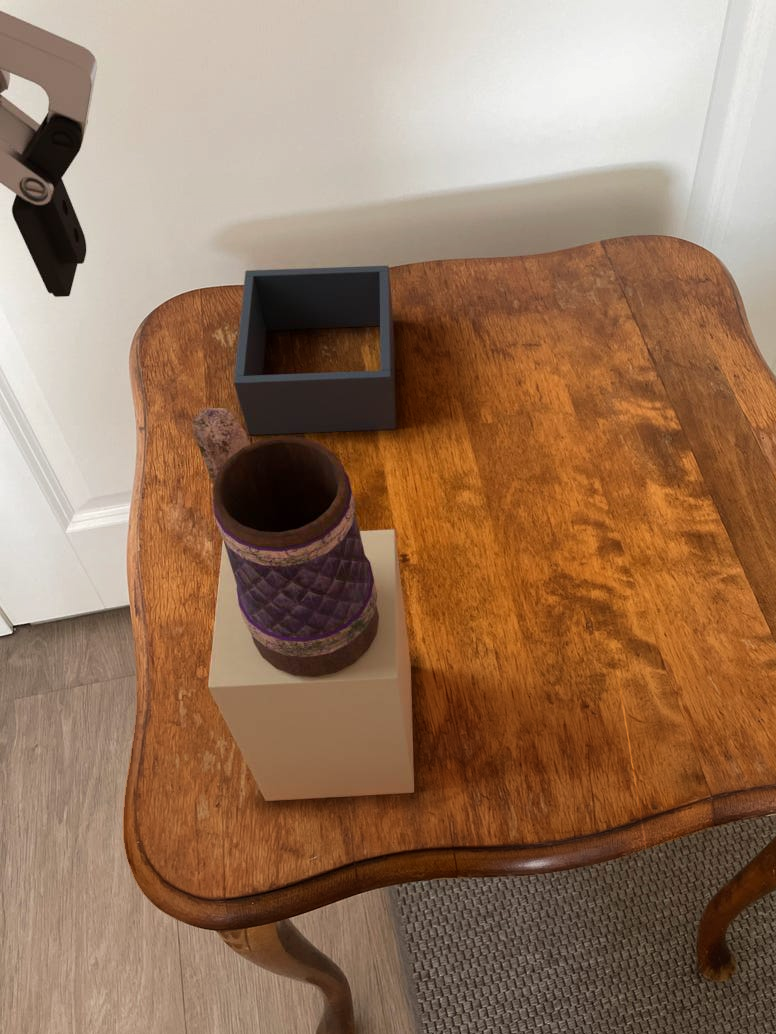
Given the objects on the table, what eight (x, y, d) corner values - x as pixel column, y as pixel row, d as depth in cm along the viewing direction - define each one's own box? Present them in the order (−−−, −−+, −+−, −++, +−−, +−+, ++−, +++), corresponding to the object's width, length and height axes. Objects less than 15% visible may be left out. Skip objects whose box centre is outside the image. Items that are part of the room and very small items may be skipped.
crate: (248, 435, 80) (233, 382, 75) (258, 325, 87) (245, 270, 82) (395, 429, 81) (390, 376, 76) (393, 320, 88) (388, 265, 83)
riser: (265, 801, 63) (207, 687, 49) (273, 672, 68) (222, 536, 54) (414, 793, 63) (397, 677, 50) (410, 665, 68) (395, 528, 55)
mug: (407, 633, 51) (390, 488, 41) (297, 706, 49) (249, 571, 38) (304, 518, 55) (265, 360, 45) (198, 579, 53) (131, 427, 43)
